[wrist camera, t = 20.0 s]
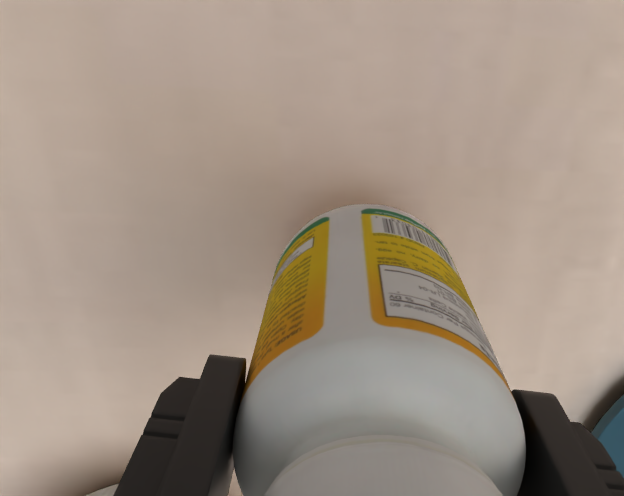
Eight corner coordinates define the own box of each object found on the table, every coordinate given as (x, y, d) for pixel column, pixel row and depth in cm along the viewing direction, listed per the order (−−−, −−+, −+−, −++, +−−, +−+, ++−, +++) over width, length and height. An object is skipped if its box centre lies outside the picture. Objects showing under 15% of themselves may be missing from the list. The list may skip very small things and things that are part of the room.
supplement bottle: (441, 182, 14) (605, 446, 6) (461, 342, 16) (602, 718, 8) (252, 218, 15) (134, 504, 6) (294, 367, 17) (250, 739, 8)
